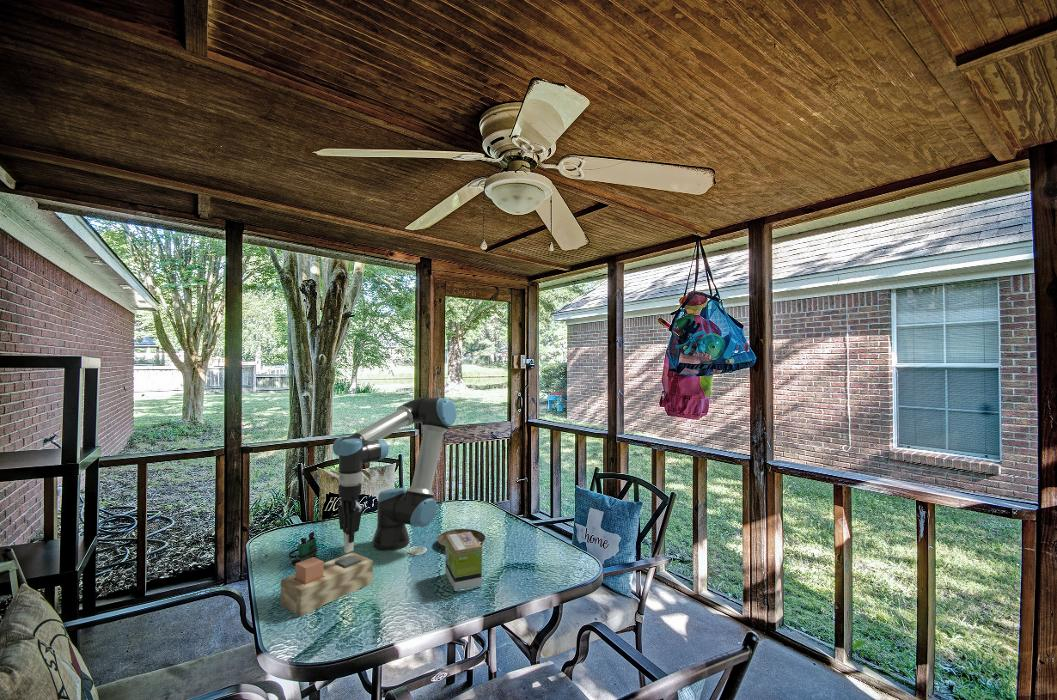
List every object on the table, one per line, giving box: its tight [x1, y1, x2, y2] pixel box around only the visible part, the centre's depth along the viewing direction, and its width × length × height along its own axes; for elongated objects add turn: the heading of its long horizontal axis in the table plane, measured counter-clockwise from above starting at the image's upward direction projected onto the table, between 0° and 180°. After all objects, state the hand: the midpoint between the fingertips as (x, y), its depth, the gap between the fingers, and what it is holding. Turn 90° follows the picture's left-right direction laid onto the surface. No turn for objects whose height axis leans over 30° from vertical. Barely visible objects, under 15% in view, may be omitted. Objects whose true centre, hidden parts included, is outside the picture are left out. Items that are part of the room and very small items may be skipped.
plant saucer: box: [436, 528, 486, 550], centre depth 195 cm, size 21×21×3 cm
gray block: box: [335, 555, 361, 568], centre depth 158 cm, size 6×6×8 cm
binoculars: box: [288, 532, 318, 565], centre depth 176 cm, size 9×11×10 cm
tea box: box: [444, 532, 483, 591], centre depth 163 cm, size 15×10×15 cm, turn 23°
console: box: [279, 551, 374, 618], centre depth 152 cm, size 26×12×8 cm, turn 146°
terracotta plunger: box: [294, 557, 325, 585], centre depth 146 cm, size 6×6×8 cm
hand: (348, 550), depth 158 cm, fingers closed
